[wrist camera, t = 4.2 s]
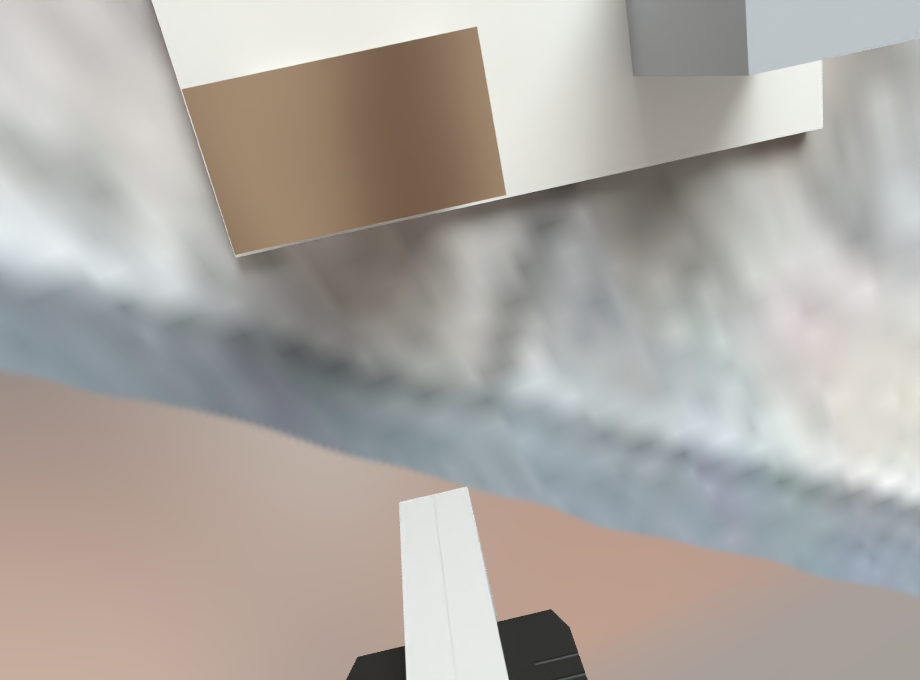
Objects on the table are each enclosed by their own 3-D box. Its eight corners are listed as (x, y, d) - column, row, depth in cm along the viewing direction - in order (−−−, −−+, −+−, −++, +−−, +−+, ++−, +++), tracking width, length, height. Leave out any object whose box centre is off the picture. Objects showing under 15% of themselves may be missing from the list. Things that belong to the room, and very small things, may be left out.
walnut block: (283, 193, 27) (235, 254, 18) (252, 84, 26) (181, 89, 16) (462, 154, 27) (506, 195, 18) (440, 44, 26) (477, 26, 17)
